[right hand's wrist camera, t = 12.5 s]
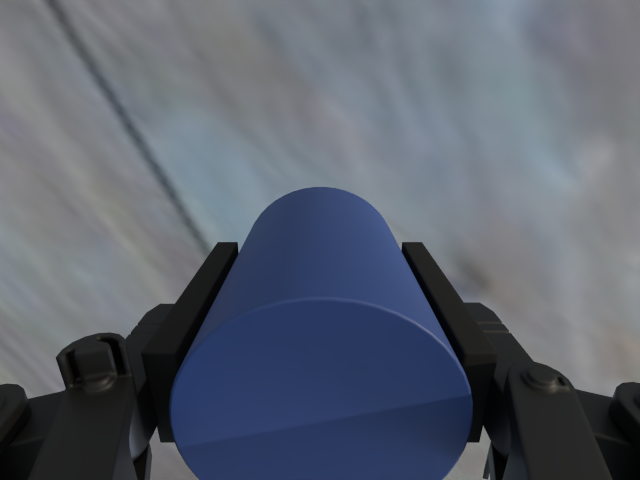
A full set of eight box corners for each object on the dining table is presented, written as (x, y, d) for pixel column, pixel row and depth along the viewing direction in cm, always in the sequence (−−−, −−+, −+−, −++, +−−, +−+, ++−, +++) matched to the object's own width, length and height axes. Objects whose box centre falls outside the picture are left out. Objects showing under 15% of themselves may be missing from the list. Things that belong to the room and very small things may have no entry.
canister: (255, 173, 14) (173, 270, 6) (412, 202, 15) (523, 328, 7) (238, 310, 17) (163, 509, 9) (375, 332, 17) (423, 540, 9)
